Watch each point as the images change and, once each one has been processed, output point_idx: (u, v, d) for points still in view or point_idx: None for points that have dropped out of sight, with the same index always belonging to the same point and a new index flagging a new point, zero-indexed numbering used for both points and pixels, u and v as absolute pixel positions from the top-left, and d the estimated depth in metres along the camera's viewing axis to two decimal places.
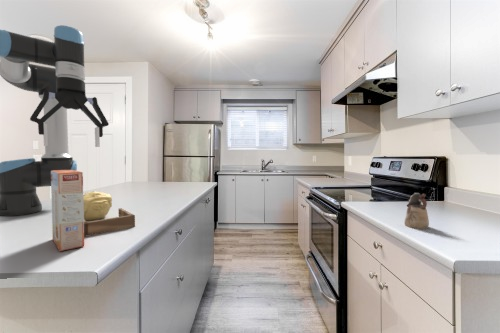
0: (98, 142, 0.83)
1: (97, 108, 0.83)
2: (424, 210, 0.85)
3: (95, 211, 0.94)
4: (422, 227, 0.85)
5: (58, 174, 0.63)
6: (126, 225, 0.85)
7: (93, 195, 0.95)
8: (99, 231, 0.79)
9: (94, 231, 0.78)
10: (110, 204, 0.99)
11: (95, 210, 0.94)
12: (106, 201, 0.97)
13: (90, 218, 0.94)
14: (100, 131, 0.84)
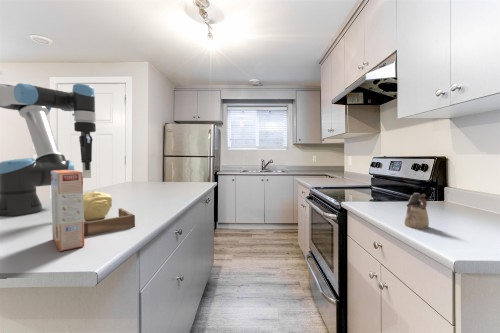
0: (83, 174, 1.04)
1: (84, 146, 1.01)
2: (424, 210, 0.85)
3: (95, 211, 0.94)
4: (422, 227, 0.85)
5: (58, 174, 0.63)
6: (126, 225, 0.85)
7: (93, 195, 0.95)
8: (99, 231, 0.79)
9: (94, 231, 0.78)
10: (110, 204, 0.99)
11: (95, 210, 0.94)
12: (106, 201, 0.97)
13: (90, 218, 0.94)
14: (85, 165, 1.04)
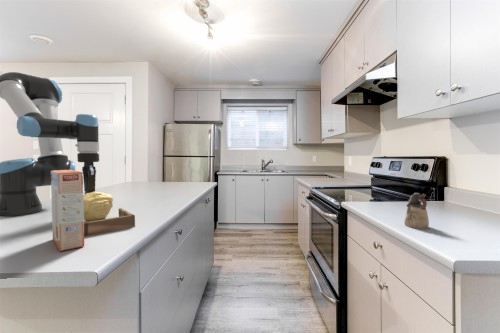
0: None
1: (88, 178, 0.98)
2: (424, 210, 0.85)
3: (96, 211, 0.93)
4: (422, 227, 0.85)
5: (58, 174, 0.63)
6: (126, 225, 0.85)
7: (94, 195, 0.94)
8: (99, 231, 0.79)
9: (94, 231, 0.78)
10: (111, 204, 0.98)
11: (96, 210, 0.93)
12: (107, 201, 0.96)
13: (91, 218, 0.93)
14: None
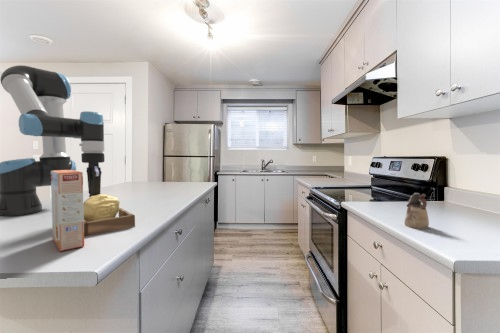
0: None
1: (92, 179, 0.92)
2: (424, 210, 0.85)
3: (102, 215, 0.87)
4: (422, 227, 0.85)
5: (58, 174, 0.63)
6: (126, 225, 0.85)
7: (99, 198, 0.88)
8: (99, 231, 0.79)
9: (94, 231, 0.78)
10: (117, 208, 0.92)
11: (102, 214, 0.87)
12: (113, 205, 0.90)
13: None
14: None
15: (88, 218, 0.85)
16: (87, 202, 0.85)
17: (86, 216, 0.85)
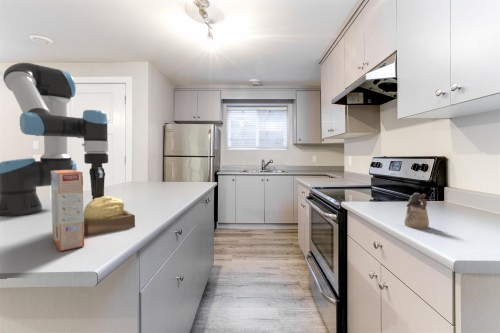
0: None
1: (96, 181, 0.88)
2: (424, 210, 0.85)
3: None
4: (422, 227, 0.85)
5: (58, 174, 0.63)
6: (126, 225, 0.85)
7: (104, 200, 0.84)
8: (99, 231, 0.79)
9: (94, 231, 0.78)
10: (122, 210, 0.88)
11: (107, 217, 0.83)
12: (118, 207, 0.86)
13: None
14: None
15: None
16: (91, 205, 0.81)
17: (90, 219, 0.81)
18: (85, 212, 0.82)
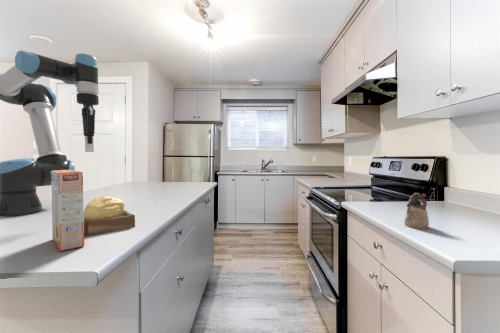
0: (85, 148, 1.01)
1: (87, 118, 0.98)
2: (424, 210, 0.85)
3: None
4: (422, 227, 0.85)
5: (58, 174, 0.63)
6: (126, 225, 0.85)
7: (104, 201, 0.84)
8: (99, 231, 0.79)
9: (94, 231, 0.78)
10: (122, 210, 0.88)
11: (107, 217, 0.82)
12: (118, 207, 0.86)
13: None
14: (87, 139, 1.01)
15: None
16: (91, 205, 0.81)
17: (90, 219, 0.81)
18: (85, 212, 0.82)
